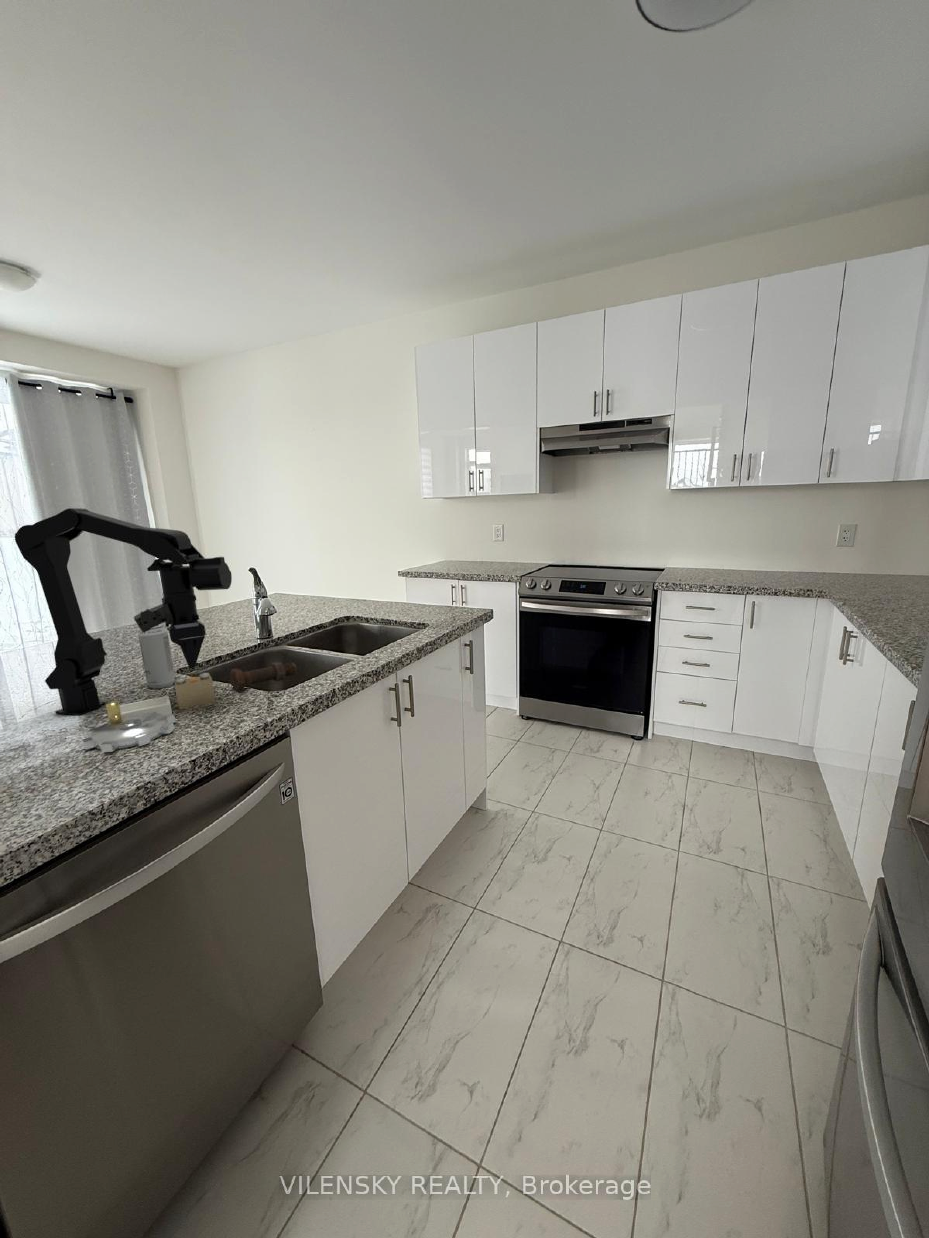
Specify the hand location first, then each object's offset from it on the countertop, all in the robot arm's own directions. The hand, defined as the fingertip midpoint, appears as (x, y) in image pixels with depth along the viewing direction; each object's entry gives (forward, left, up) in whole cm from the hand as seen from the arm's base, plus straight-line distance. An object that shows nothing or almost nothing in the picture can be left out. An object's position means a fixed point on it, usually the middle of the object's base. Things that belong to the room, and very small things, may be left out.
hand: (189, 662), depth 108 cm
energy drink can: (-18, +10, -10) cm, 23 cm away
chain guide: (-7, -7, -9) cm, 14 cm away
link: (0, 0, -9) cm, 9 cm away
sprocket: (0, -16, -9) cm, 19 cm away
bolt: (+8, +14, -10) cm, 19 cm away
